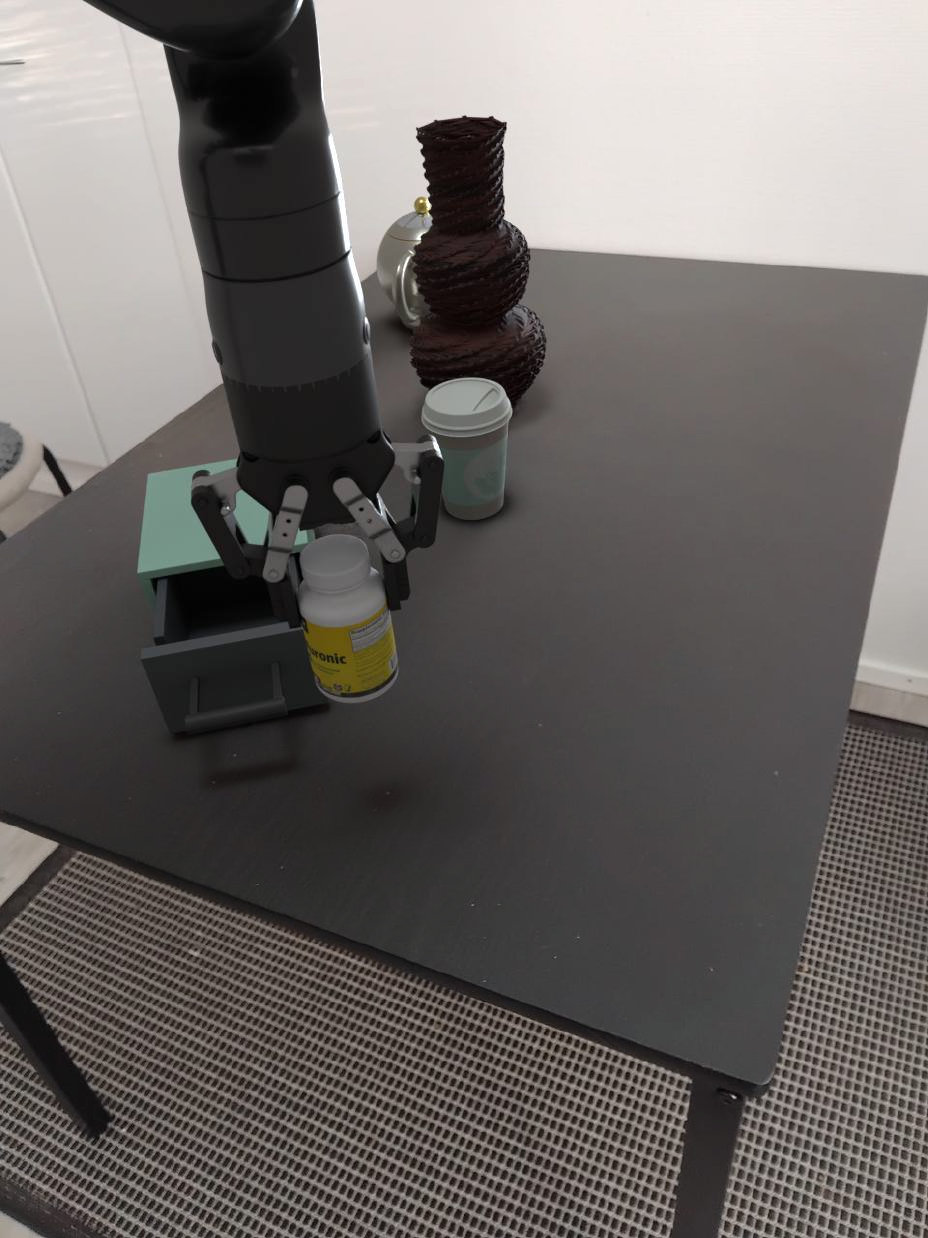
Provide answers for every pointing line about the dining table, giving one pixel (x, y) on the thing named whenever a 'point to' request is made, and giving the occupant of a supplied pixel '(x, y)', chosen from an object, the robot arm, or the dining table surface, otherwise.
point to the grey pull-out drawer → (225, 652)
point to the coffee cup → (470, 443)
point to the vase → (472, 265)
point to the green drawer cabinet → (190, 528)
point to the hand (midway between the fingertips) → (344, 610)
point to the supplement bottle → (346, 620)
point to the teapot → (404, 263)
